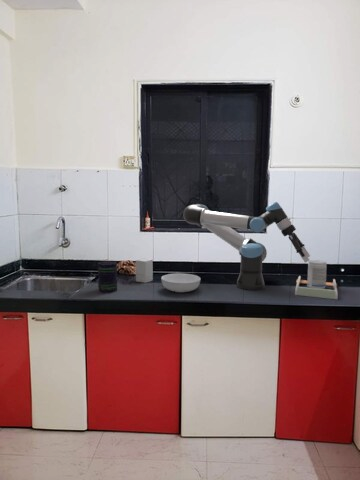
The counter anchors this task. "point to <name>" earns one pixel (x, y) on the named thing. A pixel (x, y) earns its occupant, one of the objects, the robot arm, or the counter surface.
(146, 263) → the supplement box
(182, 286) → the serving bowl
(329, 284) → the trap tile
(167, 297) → the counter surface
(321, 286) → the supplement tub
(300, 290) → the channel
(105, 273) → the storage jar
